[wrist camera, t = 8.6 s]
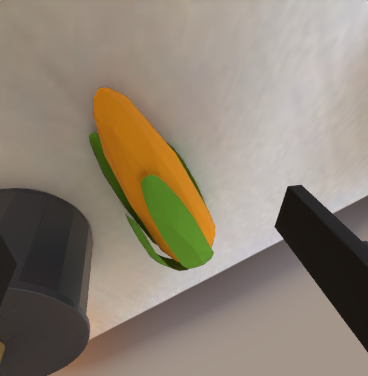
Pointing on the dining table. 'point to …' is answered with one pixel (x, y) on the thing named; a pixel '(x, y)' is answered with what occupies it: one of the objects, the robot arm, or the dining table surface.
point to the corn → (151, 183)
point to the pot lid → (39, 330)
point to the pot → (47, 242)
